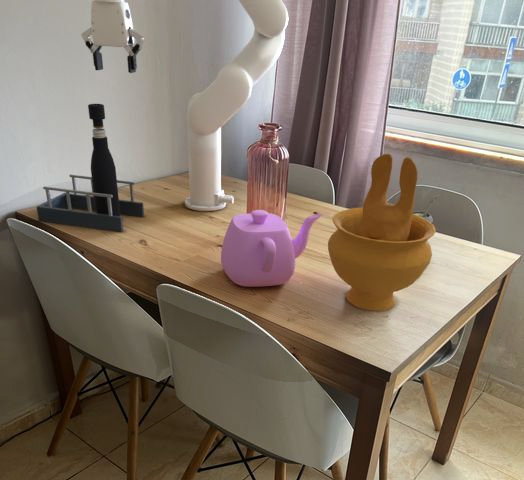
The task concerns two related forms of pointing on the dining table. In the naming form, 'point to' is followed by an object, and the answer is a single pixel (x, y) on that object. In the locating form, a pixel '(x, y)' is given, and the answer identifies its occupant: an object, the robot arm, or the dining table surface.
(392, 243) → the decorative bowl
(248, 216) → the teapot
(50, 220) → the dish rack
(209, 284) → the dining table surface
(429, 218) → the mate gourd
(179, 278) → the dining table surface
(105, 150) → the dark blue bottle
